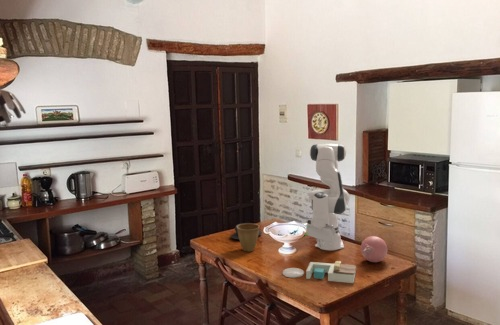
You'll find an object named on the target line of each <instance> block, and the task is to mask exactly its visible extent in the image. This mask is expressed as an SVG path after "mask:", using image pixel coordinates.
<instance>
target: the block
mask: <svg viewBox="0 0 500 325" xmlns="http://www.w3.org/2000/svg"><path fill="white" fill-rule="evenodd" d="M325 274H326V273H325V269H321V268H315V270H314V272H313V278H314V279H321V280H323V279H324V277H325Z"/></svg>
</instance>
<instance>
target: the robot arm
mask: <svg viewBox="0 0 500 325" xmlns="http://www.w3.org/2000/svg"><path fill="white" fill-rule="evenodd" d="M346 154H347V150H346V147H345V146H344V144H341V143H338V144H336V143H321V144H318V143H317V144H312V145H311V147H310V149H309V156H310V159H311V160H312V161H315V172H316V174H317V175H318V176H319V178H320V181H321V182H322V184H324V185H326V186H328V187H329V188H327V189H325V188H323V189H314V190H312V191H310V193H309V195H308V200H309V203H310V204H311V210H312V212H313V215H312V218H309V219H306V223H307V226H306V233H307V236H308V237H312V238H314V239H316V242H317V243H316V244H315V245H314V246H315V248H319V249H320V250H323V251H338V250H341V249H344V248H345V246H344V243H343V240H342V239H341V238H342V237H341V234H340V233H339V230H340V229H339V218H338V217H339V216H338V215H342V214H344V212H345V211H346V209H347V204H348V203H349V201H350V194H349V192H348V191H347V190H346V189H344V187H343V181H342V177H341V176H342V175H341V173H340V171H339V168H338V167H339V166H338V163H340V162H342V161H343V160H345V157H346Z"/></svg>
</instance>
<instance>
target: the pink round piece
mask: <svg viewBox="0 0 500 325" xmlns="http://www.w3.org/2000/svg"><path fill="white" fill-rule="evenodd" d="M360 253H361V256H362V257H363V258H364V259H365V260H366V261H368V262H371V263H380V262H381V261H383V260H384V259H385V258H386V257H387V254H388V246H387V243H386V241H385V240H384V239H382V238H381V237H379V236H375V235H372V236H368V237H366V238H365V239H364V240H362V242H361V244H360Z"/></svg>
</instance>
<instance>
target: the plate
mask: <svg viewBox="0 0 500 325" xmlns="http://www.w3.org/2000/svg"><path fill="white" fill-rule="evenodd" d="M282 275H283V276H284V277H287V278H291V279H297V278H301V277H303V276H304V275H305V271H304V270H303V269H301V268H297V267H288V268H285V269H283V270H282Z"/></svg>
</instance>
